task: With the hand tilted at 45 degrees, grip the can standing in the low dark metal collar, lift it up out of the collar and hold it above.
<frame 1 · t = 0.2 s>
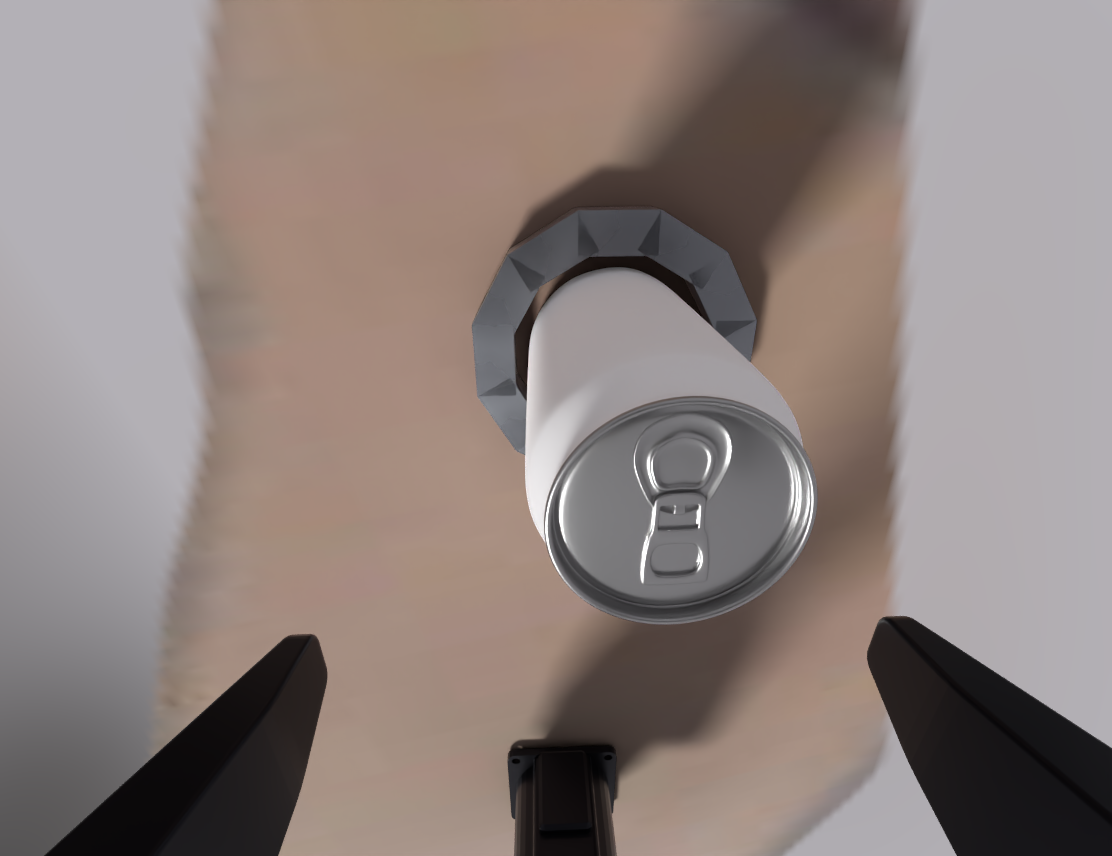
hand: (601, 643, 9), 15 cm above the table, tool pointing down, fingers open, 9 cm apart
collar: (609, 347, 22), on the table
can: (608, 345, 22), resting in collar
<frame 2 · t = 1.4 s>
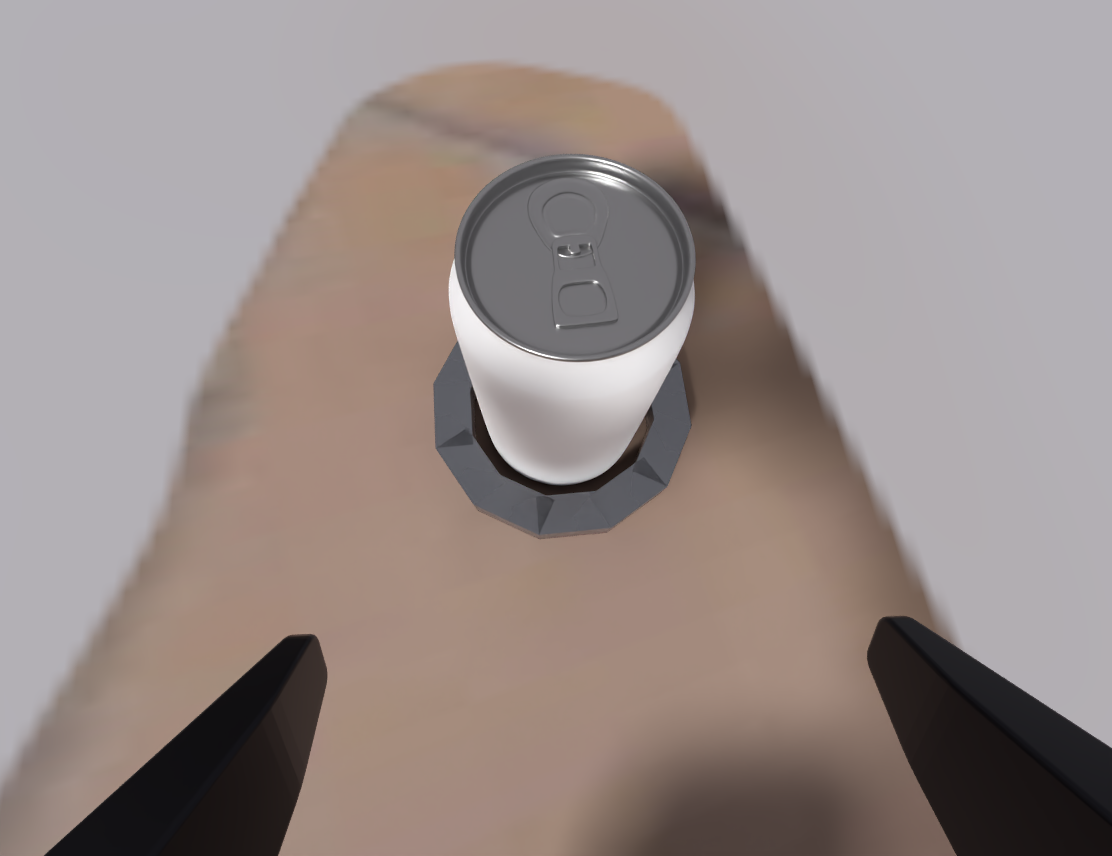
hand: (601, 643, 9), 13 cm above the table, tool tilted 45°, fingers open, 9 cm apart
collar: (560, 415, 24), on the table
can: (560, 417, 24), resting in collar
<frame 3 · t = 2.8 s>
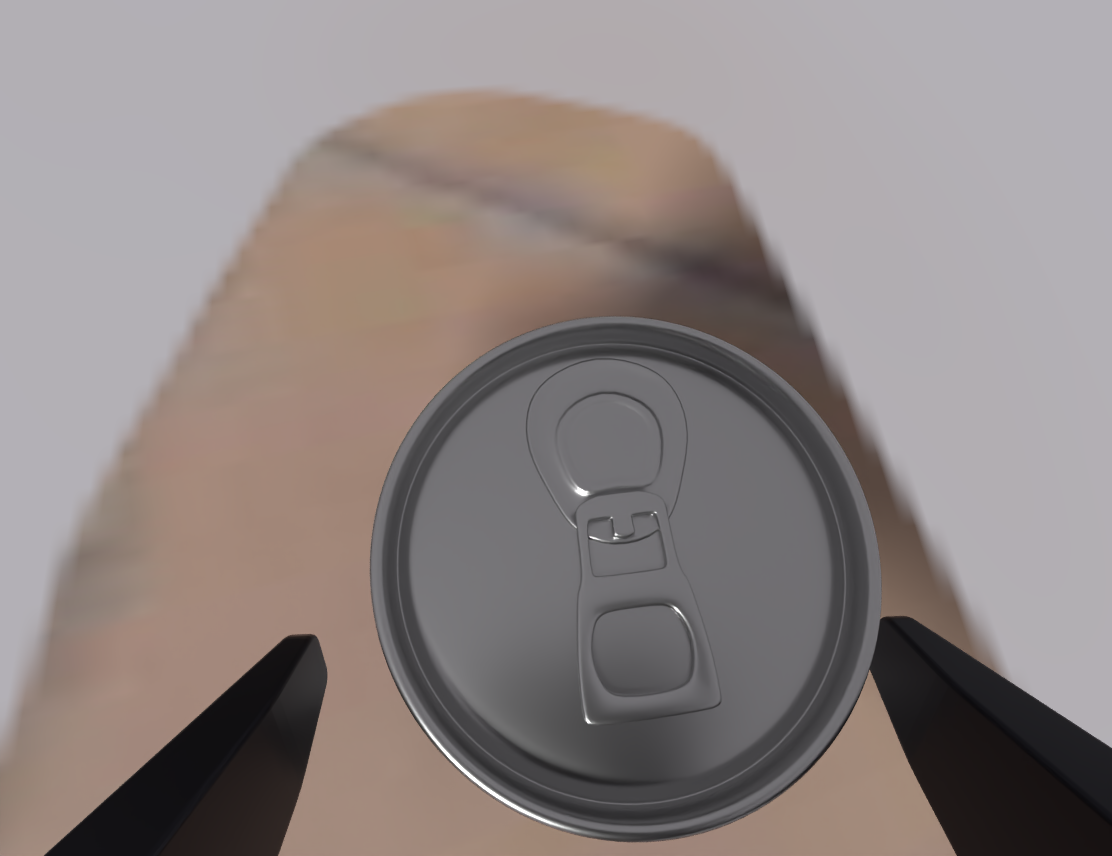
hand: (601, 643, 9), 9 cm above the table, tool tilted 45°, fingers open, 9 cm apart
can: (572, 583, 18), resting in collar
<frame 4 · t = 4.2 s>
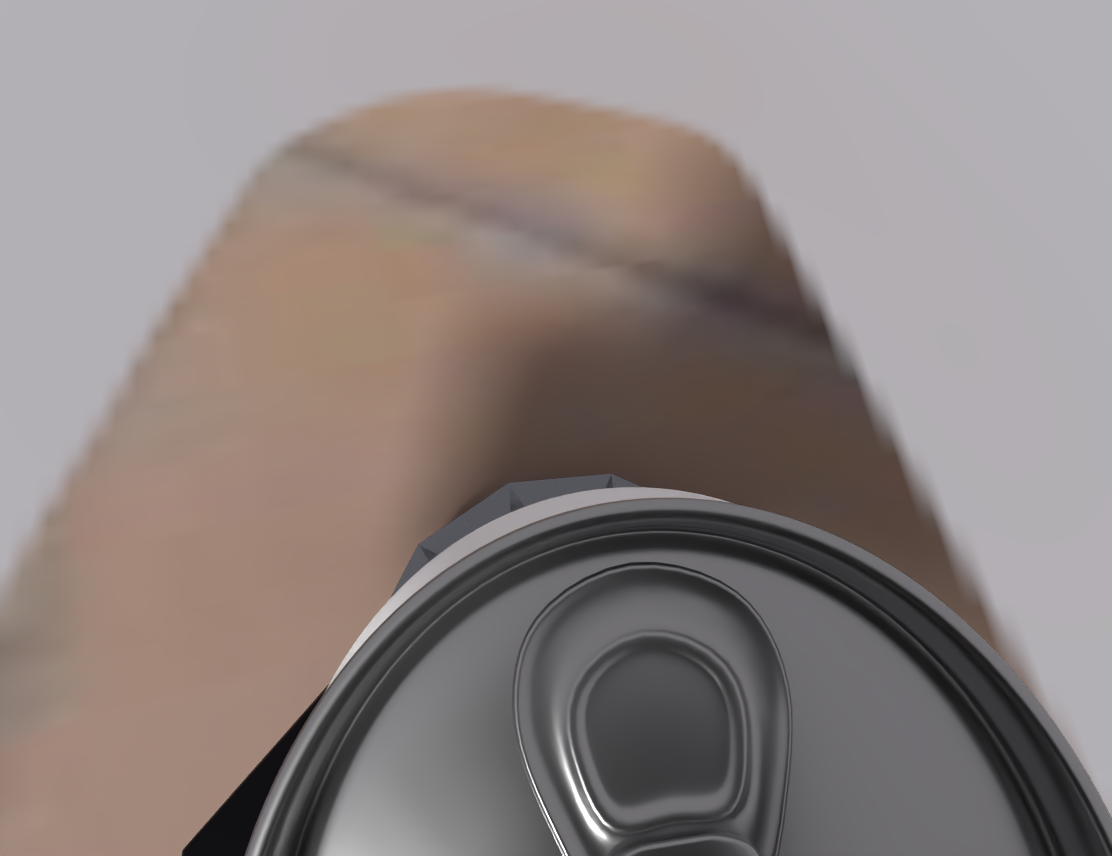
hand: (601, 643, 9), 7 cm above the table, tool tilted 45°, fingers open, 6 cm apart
collar: (577, 681, 15), on the table
can: (577, 679, 15), resting in collar, touching gripper
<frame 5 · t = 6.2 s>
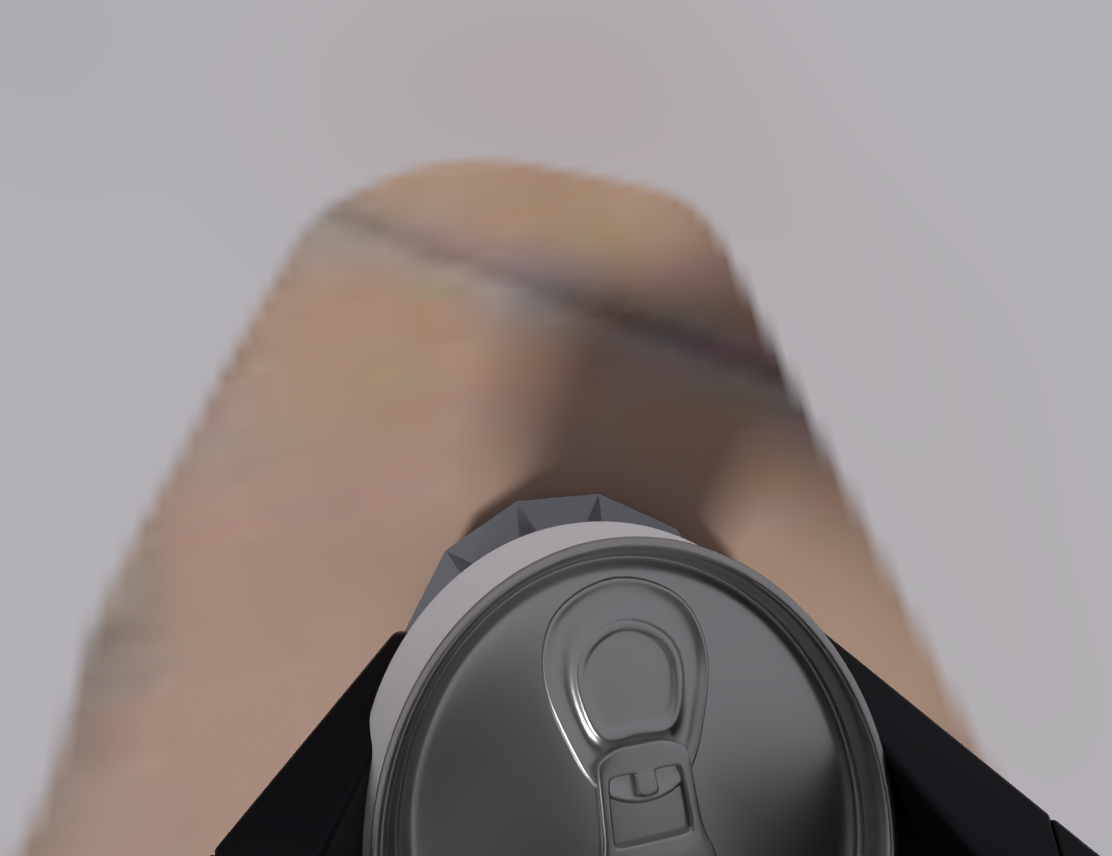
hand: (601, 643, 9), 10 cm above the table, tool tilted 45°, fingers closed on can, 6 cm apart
collar: (571, 658, 18), on the table
can: (520, 669, 17), point 1 cm above the table, touching gripper
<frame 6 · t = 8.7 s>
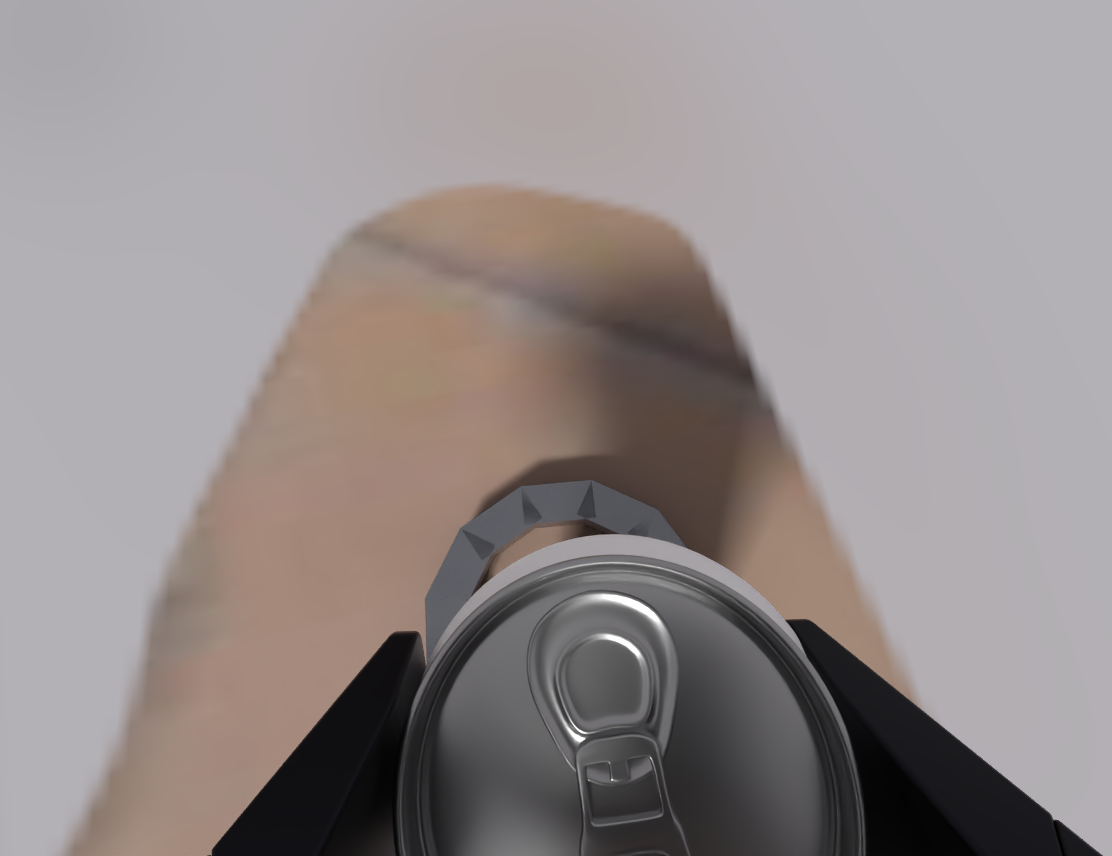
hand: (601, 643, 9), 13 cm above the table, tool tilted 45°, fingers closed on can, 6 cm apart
collar: (568, 621, 21), on the table
can: (613, 656, 18), point 3 cm above the table, touching gripper
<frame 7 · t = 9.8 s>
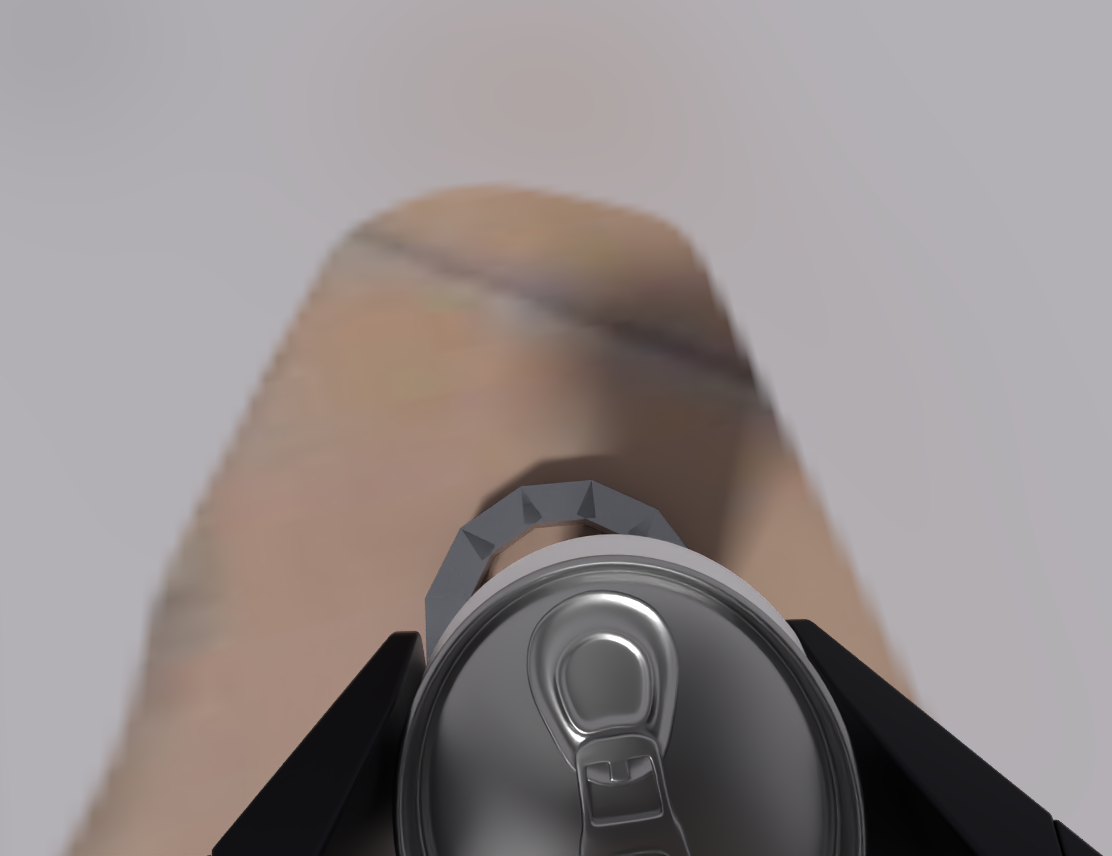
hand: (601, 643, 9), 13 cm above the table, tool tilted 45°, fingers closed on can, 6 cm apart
collar: (568, 621, 21), on the table
can: (613, 656, 18), point 3 cm above the table, touching gripper
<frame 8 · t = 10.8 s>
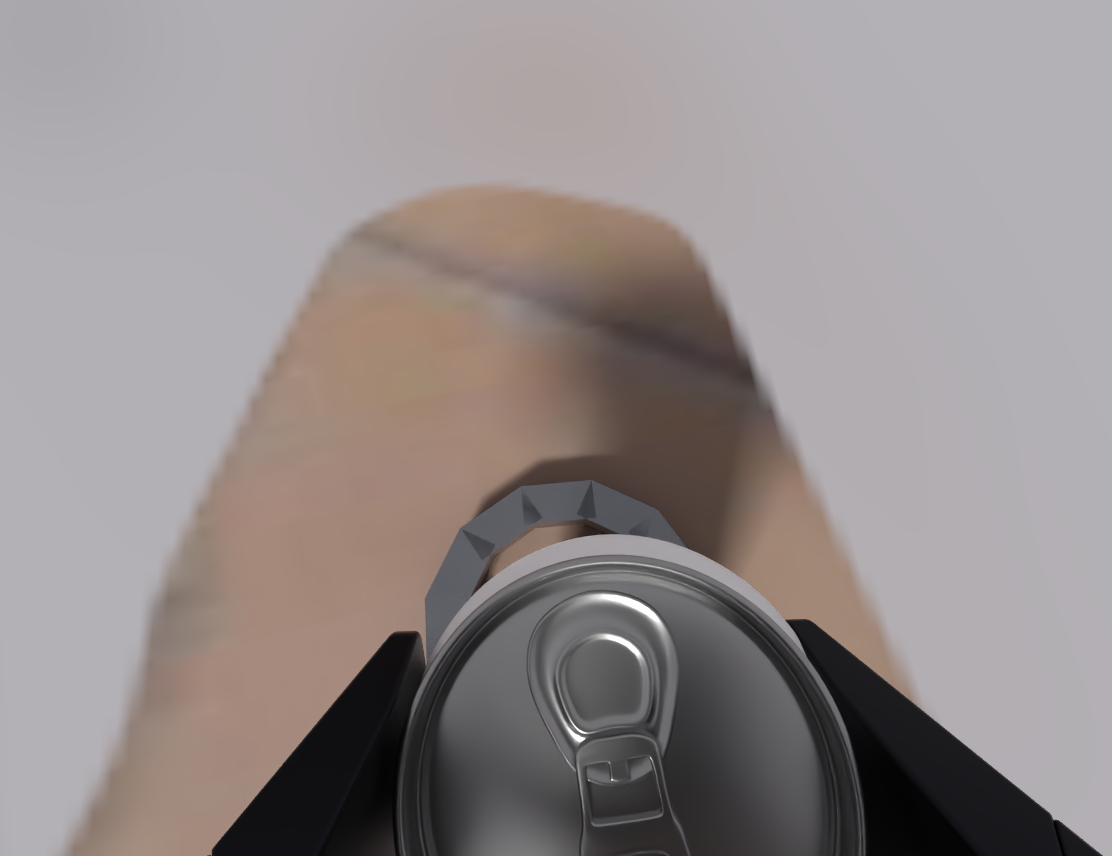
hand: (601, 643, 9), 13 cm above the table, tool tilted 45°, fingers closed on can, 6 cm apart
collar: (568, 621, 21), on the table
can: (613, 656, 18), point 3 cm above the table, touching gripper
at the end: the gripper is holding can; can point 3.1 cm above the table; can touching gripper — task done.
